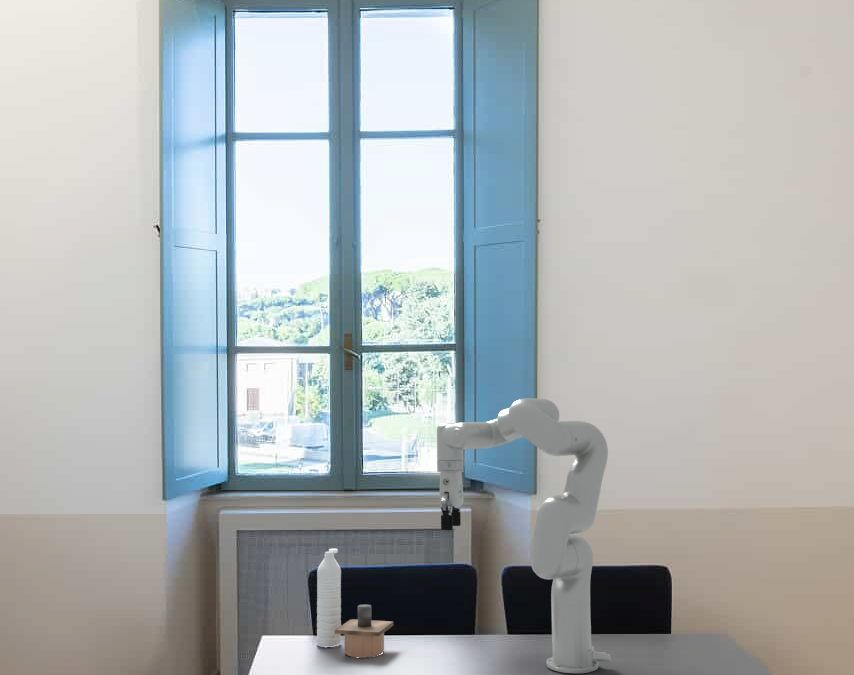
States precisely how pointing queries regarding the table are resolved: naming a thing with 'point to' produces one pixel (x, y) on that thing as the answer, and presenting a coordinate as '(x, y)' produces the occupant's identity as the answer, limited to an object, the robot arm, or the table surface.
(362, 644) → the bowl
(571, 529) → the robot arm
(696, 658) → the table surface
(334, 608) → the water bottle
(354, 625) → the lid
